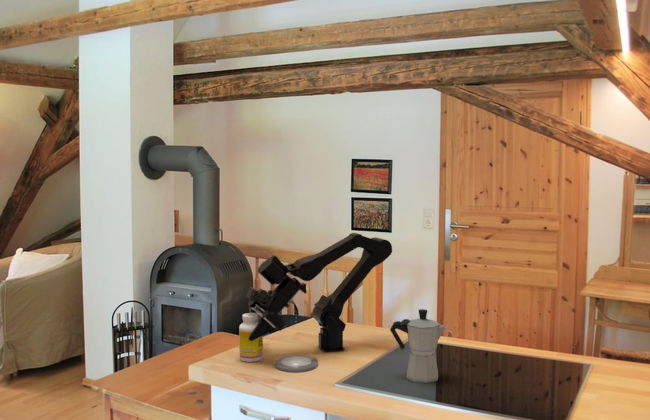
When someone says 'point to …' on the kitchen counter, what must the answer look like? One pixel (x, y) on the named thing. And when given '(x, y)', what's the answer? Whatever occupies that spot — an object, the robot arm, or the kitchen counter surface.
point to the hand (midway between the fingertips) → (246, 336)
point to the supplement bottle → (248, 348)
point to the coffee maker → (420, 346)
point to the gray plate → (296, 363)
